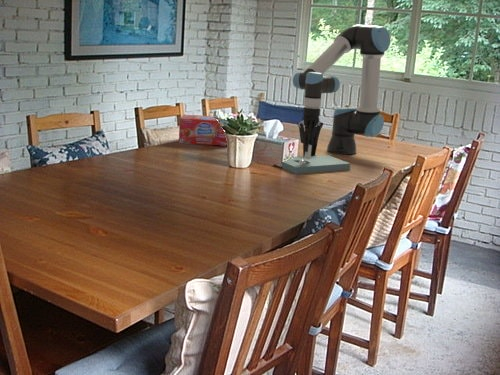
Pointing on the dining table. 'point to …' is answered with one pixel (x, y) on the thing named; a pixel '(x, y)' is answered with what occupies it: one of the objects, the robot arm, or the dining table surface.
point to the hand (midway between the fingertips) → (307, 158)
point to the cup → (312, 150)
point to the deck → (315, 164)
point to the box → (201, 130)
